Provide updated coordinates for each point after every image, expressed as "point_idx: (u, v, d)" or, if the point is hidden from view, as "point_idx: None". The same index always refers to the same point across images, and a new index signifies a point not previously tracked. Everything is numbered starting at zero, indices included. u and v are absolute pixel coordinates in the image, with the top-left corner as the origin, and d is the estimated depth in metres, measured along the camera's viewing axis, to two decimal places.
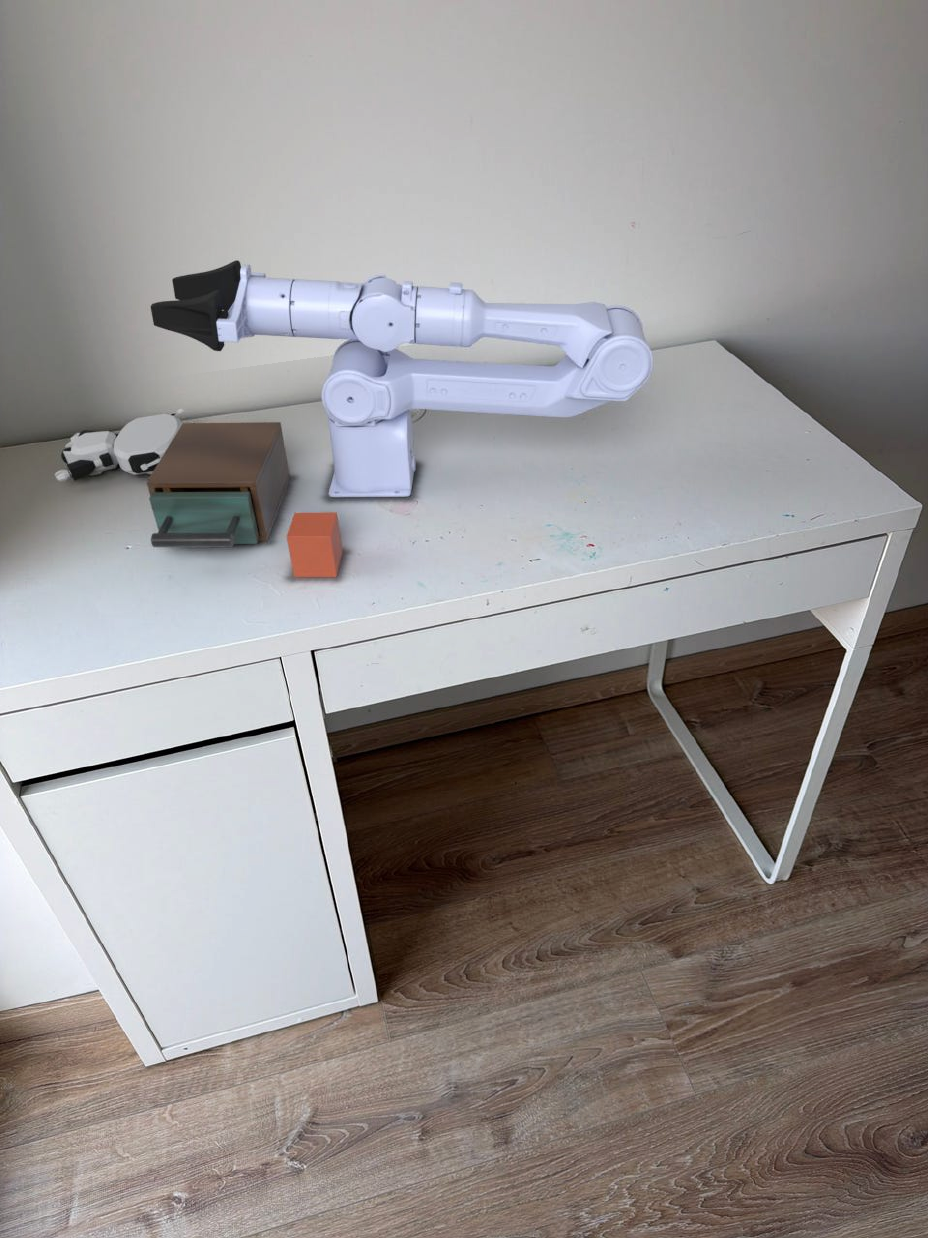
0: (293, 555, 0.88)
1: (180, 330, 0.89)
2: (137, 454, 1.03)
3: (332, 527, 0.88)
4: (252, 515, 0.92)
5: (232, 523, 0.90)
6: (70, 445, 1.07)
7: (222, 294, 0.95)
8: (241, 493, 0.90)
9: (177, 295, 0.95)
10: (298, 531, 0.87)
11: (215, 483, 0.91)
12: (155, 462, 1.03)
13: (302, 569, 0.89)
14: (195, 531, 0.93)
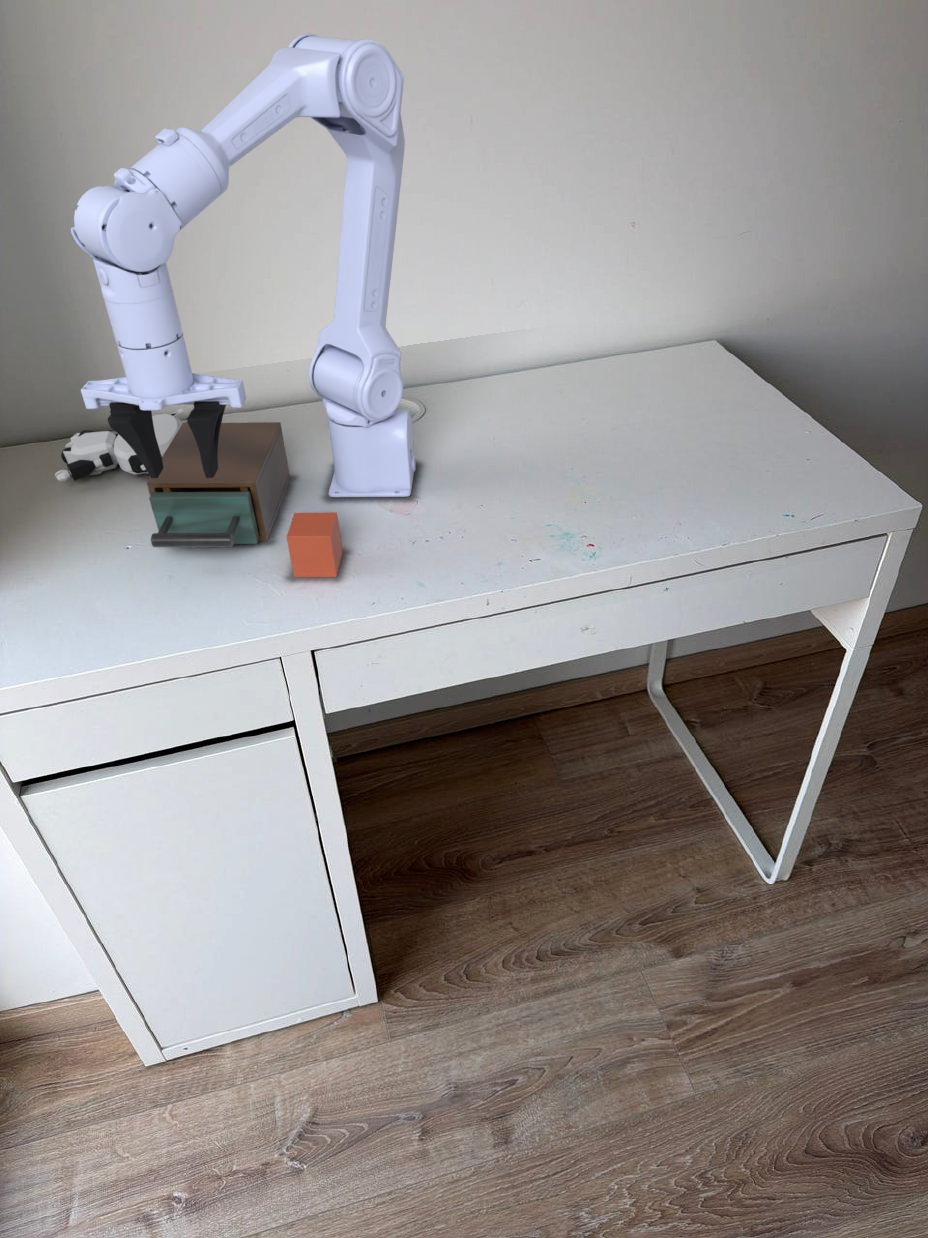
0: (293, 555, 0.88)
1: (217, 441, 0.85)
2: None
3: (332, 527, 0.88)
4: (252, 515, 0.92)
5: (232, 523, 0.90)
6: (70, 445, 1.07)
7: (146, 423, 0.83)
8: (241, 493, 0.90)
9: (161, 466, 0.87)
10: (298, 531, 0.87)
11: (215, 483, 0.91)
12: None
13: (302, 569, 0.89)
14: (195, 531, 0.93)
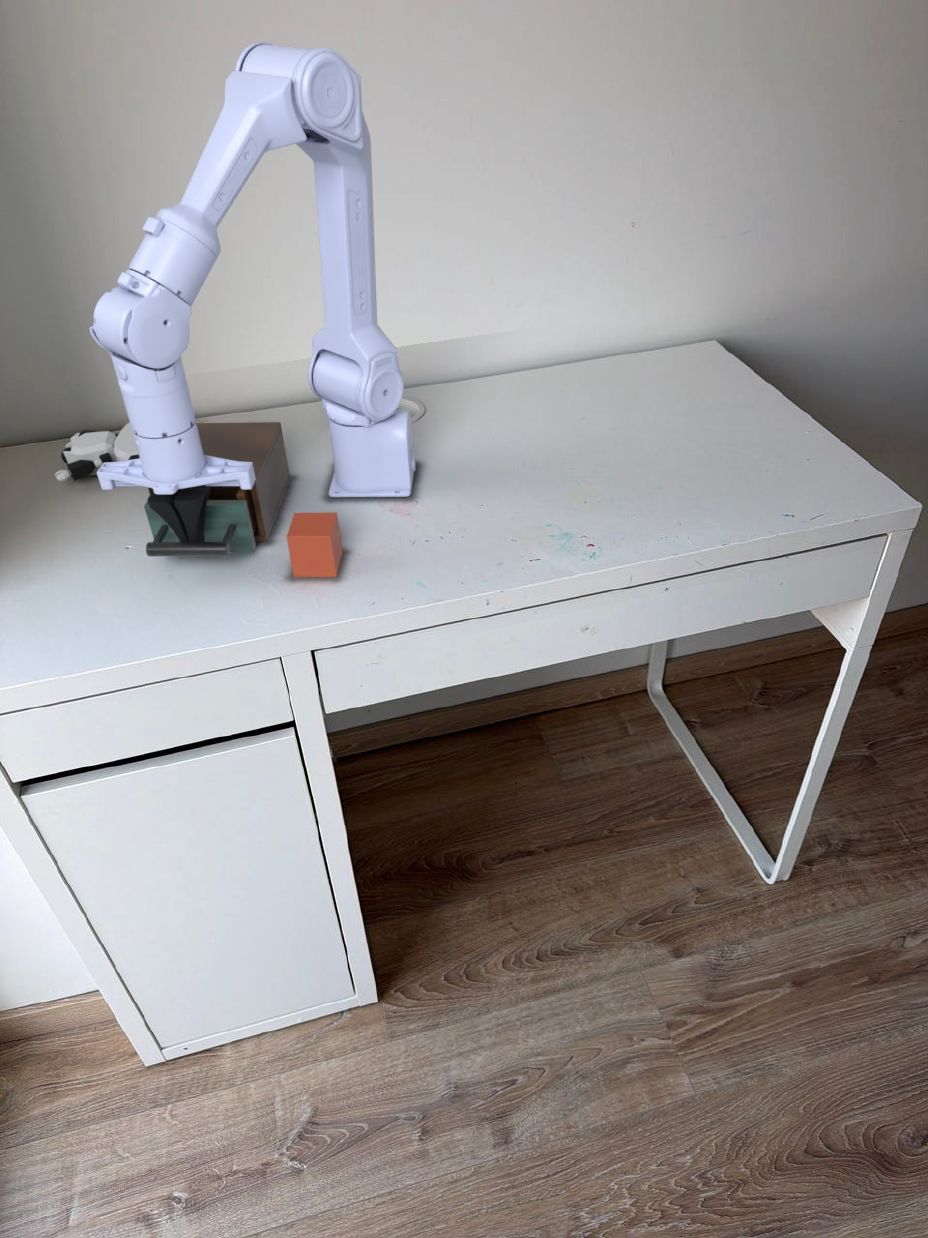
0: (293, 555, 0.88)
1: (204, 517, 0.89)
2: (137, 454, 1.03)
3: (332, 527, 0.88)
4: (249, 523, 0.91)
5: (228, 532, 0.89)
6: (70, 445, 1.07)
7: None
8: (237, 501, 0.89)
9: None
10: (298, 531, 0.87)
11: None
12: None
13: (302, 569, 0.89)
14: None
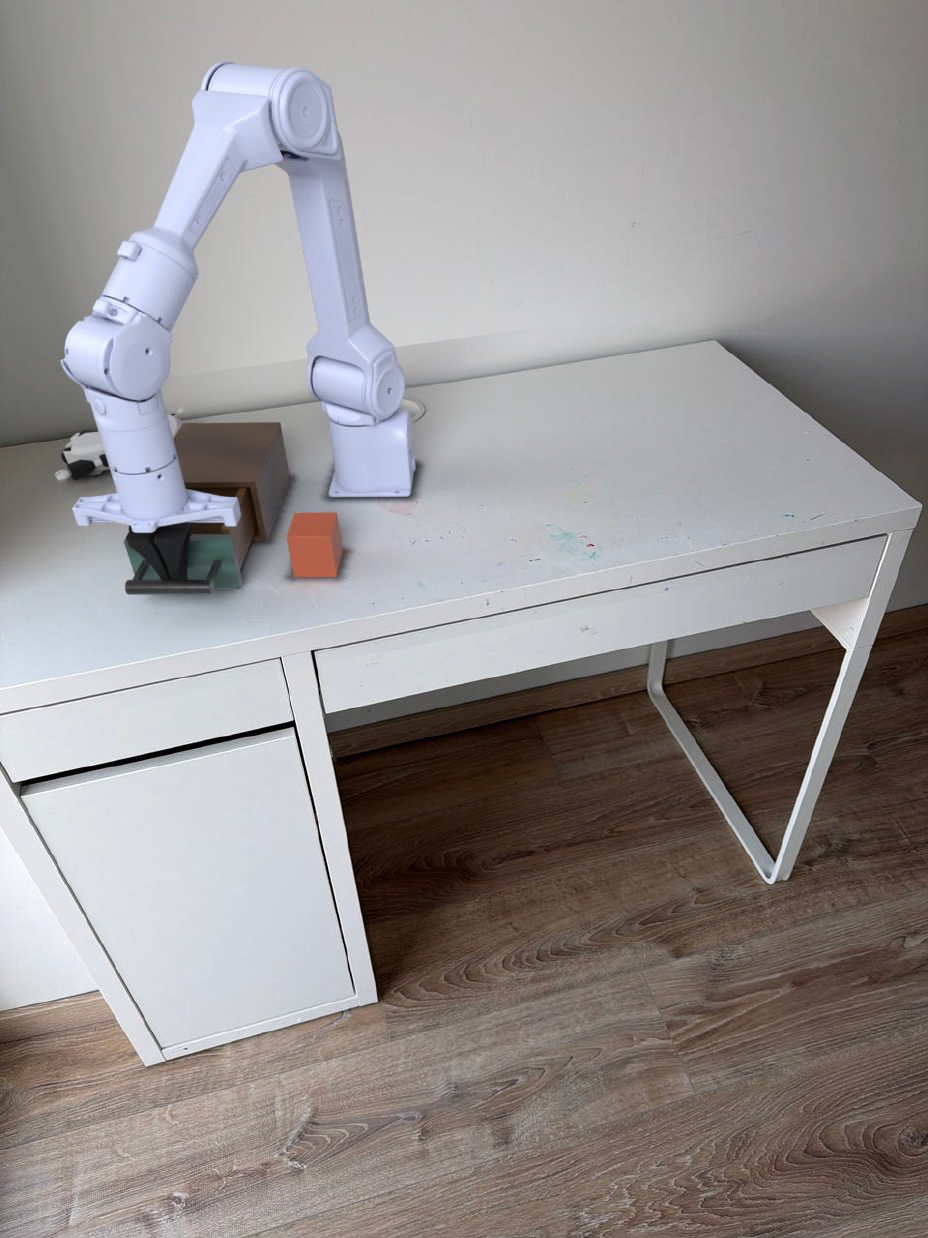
0: (293, 555, 0.88)
1: (186, 554, 0.84)
2: None
3: (332, 527, 0.88)
4: (235, 558, 0.86)
5: (213, 568, 0.84)
6: (70, 445, 1.07)
7: None
8: (222, 536, 0.84)
9: None
10: (298, 531, 0.87)
11: (215, 483, 0.91)
12: None
13: (302, 569, 0.89)
14: None
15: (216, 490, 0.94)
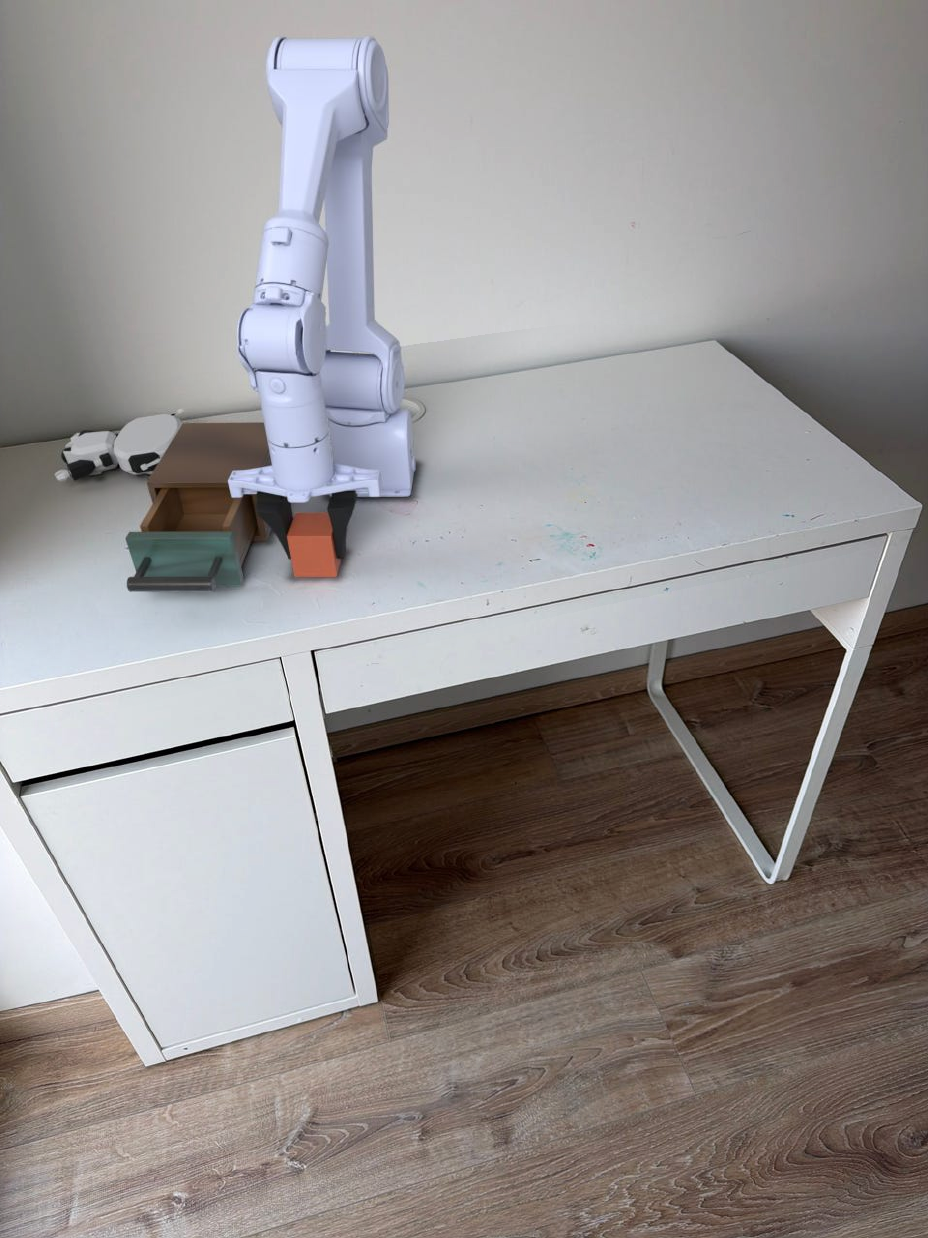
0: (293, 555, 0.88)
1: None
2: (137, 454, 1.03)
3: None
4: (236, 556, 0.86)
5: (214, 565, 0.84)
6: (70, 445, 1.07)
7: (287, 509, 0.88)
8: (223, 533, 0.85)
9: None
10: (299, 531, 0.87)
11: (215, 483, 0.91)
12: (155, 462, 1.03)
13: (302, 569, 0.89)
14: (175, 572, 0.87)
15: None
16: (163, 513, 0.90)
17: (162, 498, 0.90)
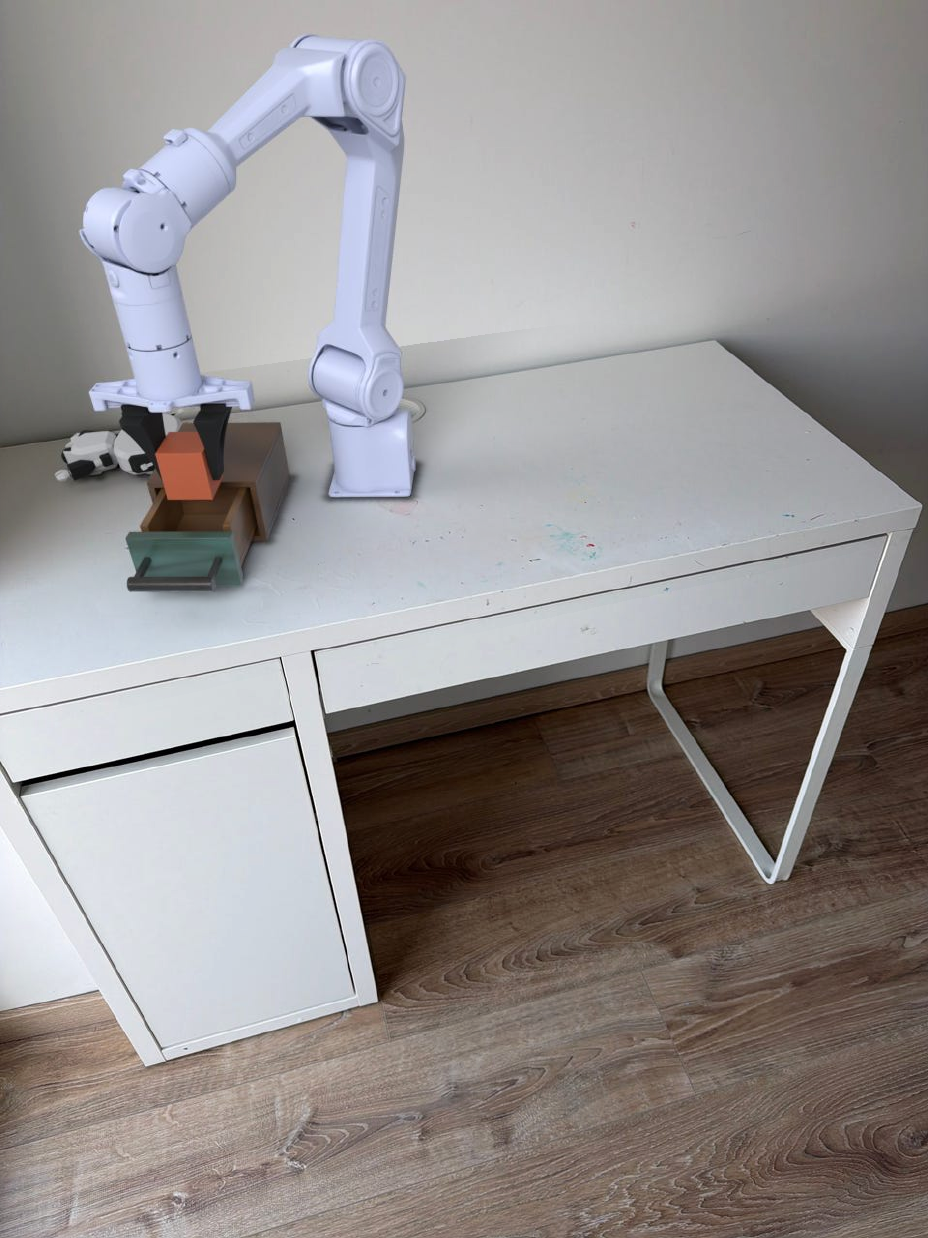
0: (164, 475, 0.83)
1: (223, 443, 0.85)
2: (137, 454, 1.03)
3: None
4: (236, 556, 0.86)
5: (214, 565, 0.84)
6: (70, 445, 1.07)
7: (157, 425, 0.83)
8: (223, 533, 0.85)
9: None
10: (168, 449, 0.83)
11: None
12: None
13: (175, 491, 0.84)
14: (175, 572, 0.87)
15: None
16: (163, 513, 0.90)
17: (162, 498, 0.90)
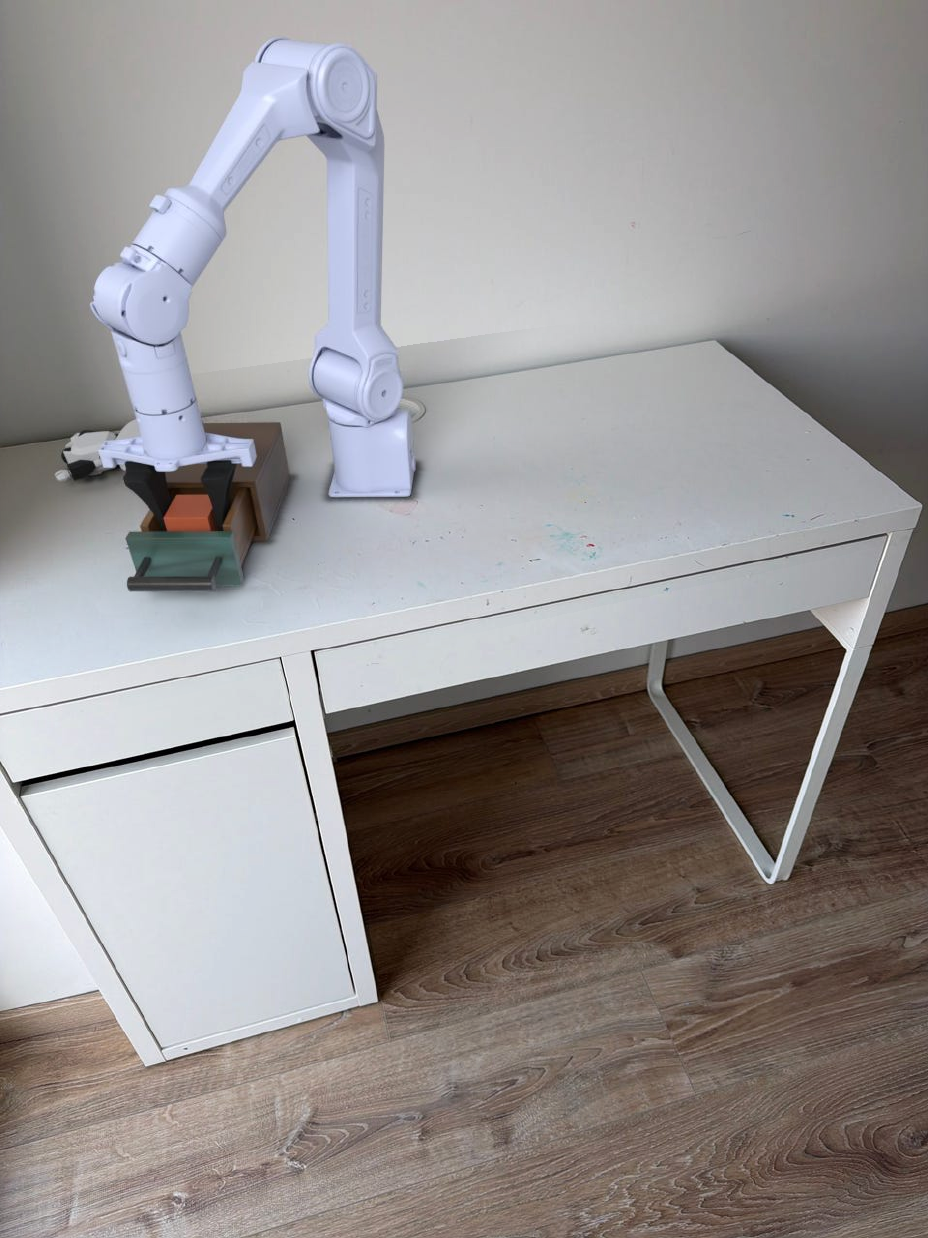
0: None
1: (229, 496, 0.89)
2: None
3: (211, 509, 0.88)
4: (236, 555, 0.86)
5: (214, 565, 0.84)
6: (70, 445, 1.07)
7: (159, 480, 0.87)
8: (224, 533, 0.85)
9: None
10: (176, 513, 0.87)
11: None
12: None
13: None
14: (175, 572, 0.87)
15: None
16: None
17: None
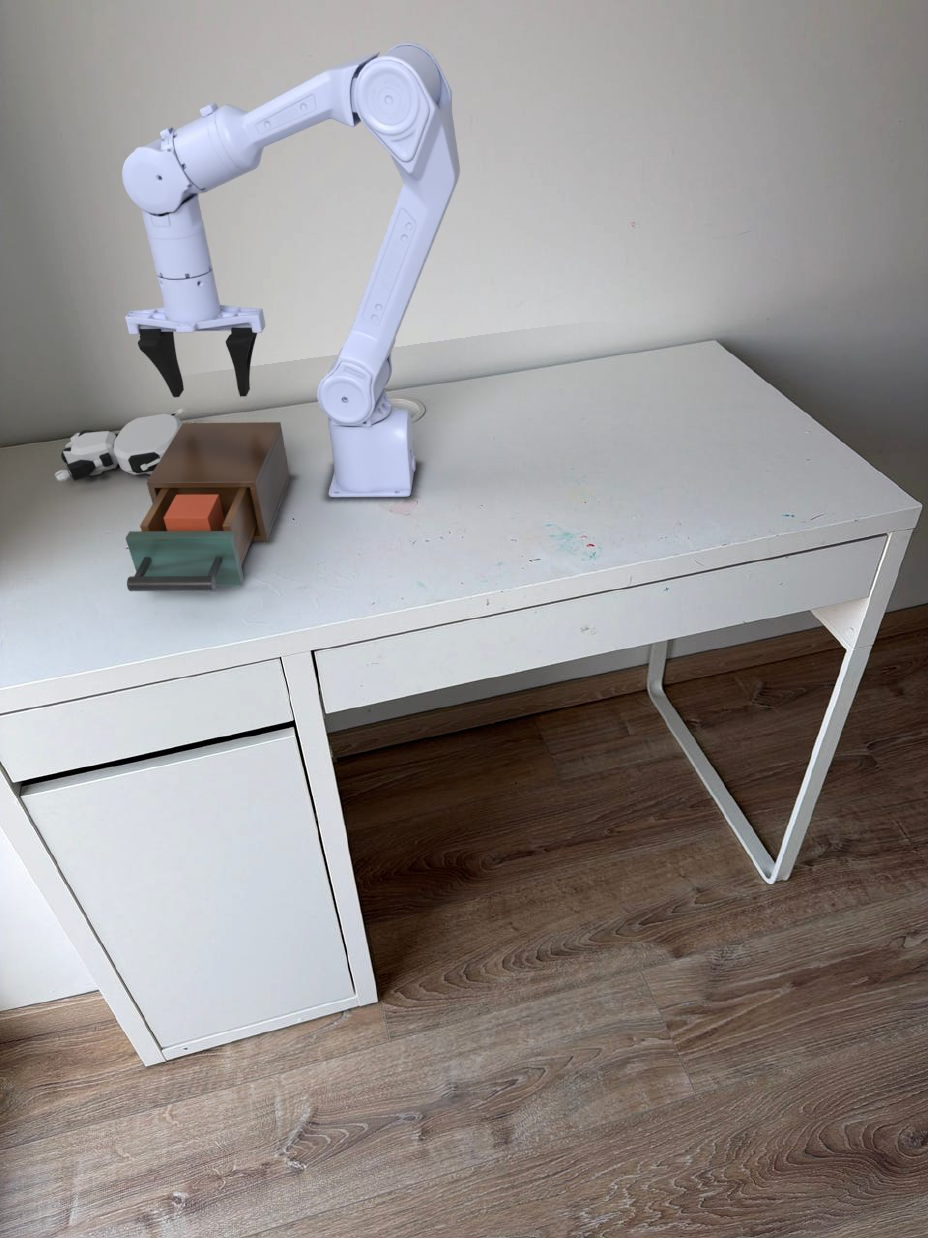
0: None
1: (249, 365, 0.99)
2: (137, 454, 1.03)
3: (211, 509, 0.88)
4: (236, 555, 0.86)
5: (214, 565, 0.84)
6: (70, 445, 1.07)
7: (169, 348, 0.98)
8: (224, 533, 0.85)
9: (182, 388, 1.01)
10: (176, 513, 0.87)
11: (215, 483, 0.91)
12: (155, 462, 1.03)
13: None
14: (175, 572, 0.87)
15: None
16: (163, 513, 0.91)
17: (163, 498, 0.90)
